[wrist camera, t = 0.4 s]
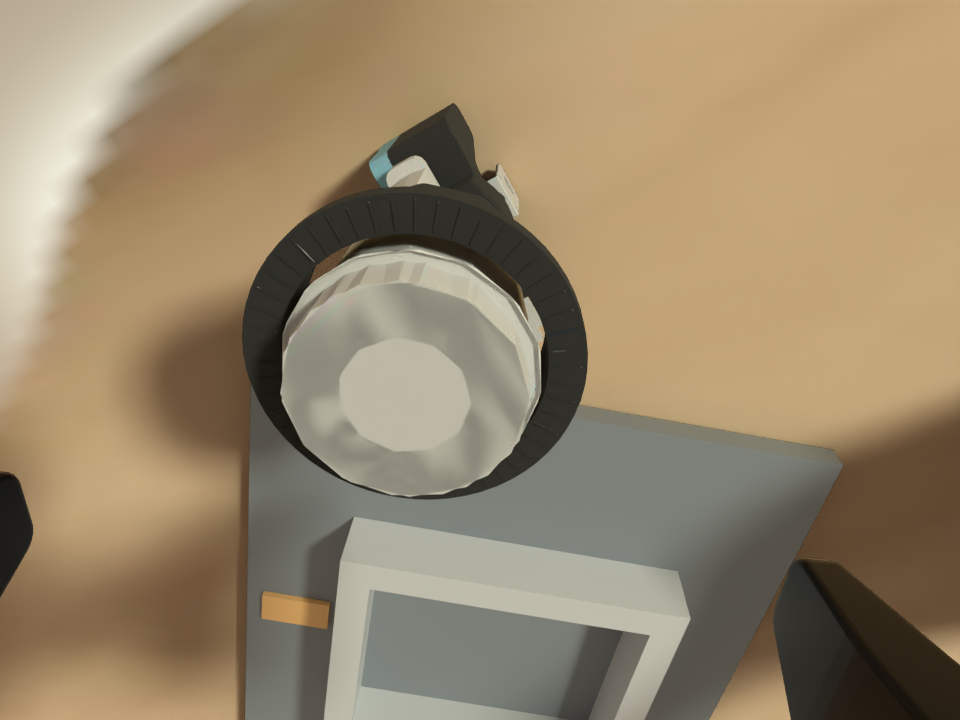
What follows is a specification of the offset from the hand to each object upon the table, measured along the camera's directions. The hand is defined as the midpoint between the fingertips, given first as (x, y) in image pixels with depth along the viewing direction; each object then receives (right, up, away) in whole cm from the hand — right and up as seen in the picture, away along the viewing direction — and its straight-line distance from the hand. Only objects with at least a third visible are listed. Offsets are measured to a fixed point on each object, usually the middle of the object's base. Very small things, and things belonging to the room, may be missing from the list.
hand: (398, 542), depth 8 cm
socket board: (+1, -8, +18) cm, 20 cm away
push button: (+1, +6, +11) cm, 13 cm away
